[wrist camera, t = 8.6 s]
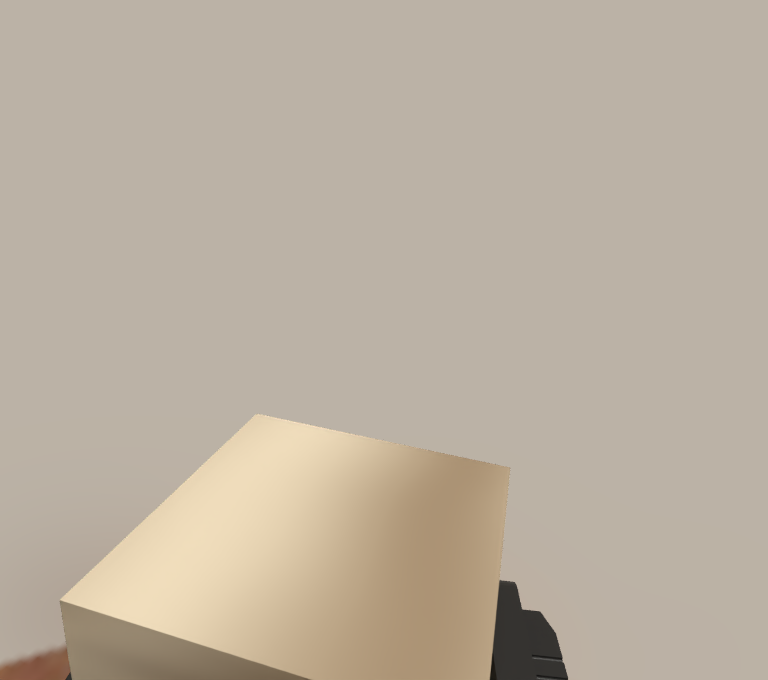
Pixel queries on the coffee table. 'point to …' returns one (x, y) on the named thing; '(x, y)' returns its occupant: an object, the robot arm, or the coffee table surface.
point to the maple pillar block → (302, 567)
